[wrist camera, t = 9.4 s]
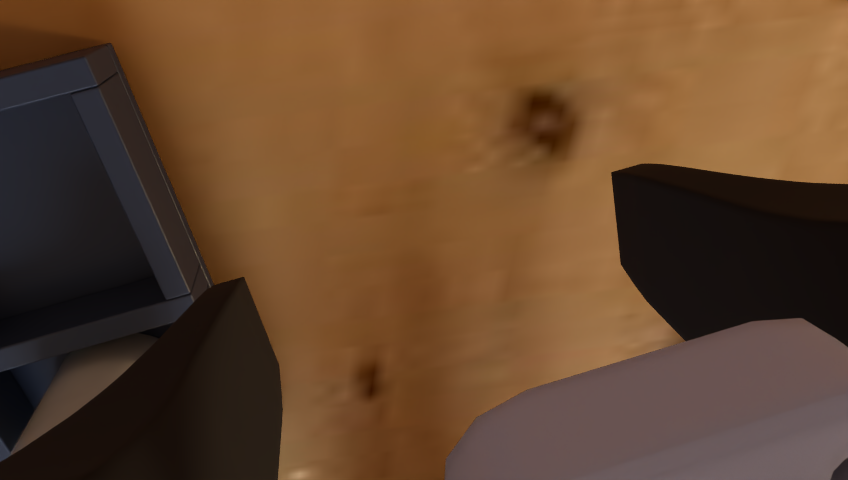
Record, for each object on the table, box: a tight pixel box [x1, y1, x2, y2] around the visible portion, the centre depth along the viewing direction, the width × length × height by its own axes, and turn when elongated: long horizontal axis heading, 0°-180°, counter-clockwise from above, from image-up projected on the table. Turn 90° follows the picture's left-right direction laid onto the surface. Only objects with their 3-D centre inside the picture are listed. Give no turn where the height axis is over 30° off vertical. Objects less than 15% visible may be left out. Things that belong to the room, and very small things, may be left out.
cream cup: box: [8, 333, 159, 457], centre depth 20 cm, size 5×5×8 cm
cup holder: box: [0, 43, 214, 462], centre depth 21 cm, size 15×8×3 cm, turn 13°
